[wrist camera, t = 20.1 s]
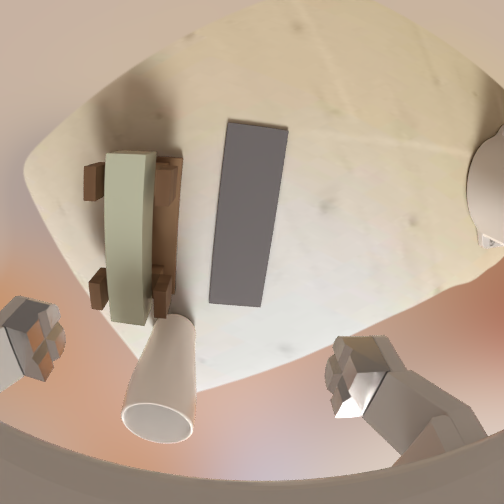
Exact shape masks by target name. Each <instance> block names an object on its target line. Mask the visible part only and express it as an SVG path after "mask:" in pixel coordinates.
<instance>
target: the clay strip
mask: <svg viewBox="0 0 504 504" xmlns="http://www.w3.org/2000/svg"><path fill="white" fill-rule="evenodd" d="M156 155H157V152H153V151H130V150H120V151H115V152H110V153H106V160H105V185H104V231H105V256H106V272H107V285H108V296H109V306H110V315H111V321H113V322H120V323H126V324H134V325H141V326H145V323H146V320H147V317H148V315H149V312H150V309H151V307H152V221H153V198H154V181H155V167H156Z"/></svg>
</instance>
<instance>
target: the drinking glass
mask: <svg viewBox="0 0 504 504" xmlns="http://www.w3.org/2000/svg"><path fill="white" fill-rule="evenodd" d="M195 340H196V330H195V327H194V325H193V324H192V322H191V321H190V320H189V319H187V318H186V317H184V316H182V315H179V314H167V318H166V319H163V318H159V319H158V320H157V321H156V322H155V324H154V327H153V330H152V333H151V335H150V337H149V339H148V342H147V344H146V346H145V348H144V350H143V352H142V355H141V357H140V359H139V361H138V363H137V366H136V368H135V370H134V372H133V374H132V377H131V379H130V382H129V384H128V387H127V390H126V394H125V398H124V402H123V406H122V411H121V419H122V421H123V423H124V425H125V426H126V427H127V428H128V429H129V430H130V431H131V432H132V433H134V434H135V435H137V436H139V437H141V438H143V439H146V440H149V441H152V442H157V443H167V444H169V443H177V442H181V441H184V440H186V439H187V438H189V437H190V435H191V434H192V433H193V430H194V420H195V412H196V367H195Z"/></svg>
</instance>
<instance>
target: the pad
mask: <svg viewBox="0 0 504 504" xmlns="http://www.w3.org/2000/svg"><path fill="white" fill-rule="evenodd" d="M287 138H288V131H286V130H280V129H274V128H267V127H260V126H252V125H245V124H236V123H228V128H227V136H226V144H225V152H224V160H223V168H222V177H221V185H220V194H219V203H218V213H217V222H216V232H215V242H214V253H213V264H212V275H211V287H210V299H209V303H213V304H225V305H237V306H250V307H260V306H261V301H262V295H263V289H264V283H265V277H266V271H267V265H268V259H269V253H270V247H271V241H272V235H273V228H274V222H275V216H276V210H277V203H278V197H279V191H280V184H281V178H282V171H283V165H284V158H285V151H286V145H287Z"/></svg>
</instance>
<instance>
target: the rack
mask: <svg viewBox="0 0 504 504" xmlns="http://www.w3.org/2000/svg"><path fill="white" fill-rule="evenodd" d="M182 165H183V158H175V157H160V156H156V167H155V181H154V198H153V221H152V298H153V299H154V318H163V319H166V318H167V314H168V311H169V307H170V304H171V294H174V293H175V278H176V251H177V231H178V215H179V201H180V188H181V176H182ZM104 185H105V162H98V163H94V164H91V165H88V166H84V201H97V200H98V199H100V198H102V197H103V196H104ZM89 291H90V299H91V306H92V309H96V310H103V308H104V307H105V305H106V303H107V302H108V300H109V296H108V285H107V272H106V268H100V269H99V270H98V271H97V273H96V274H95V275H94V276H93V277H92V279H91V280H90V281H89Z"/></svg>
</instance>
